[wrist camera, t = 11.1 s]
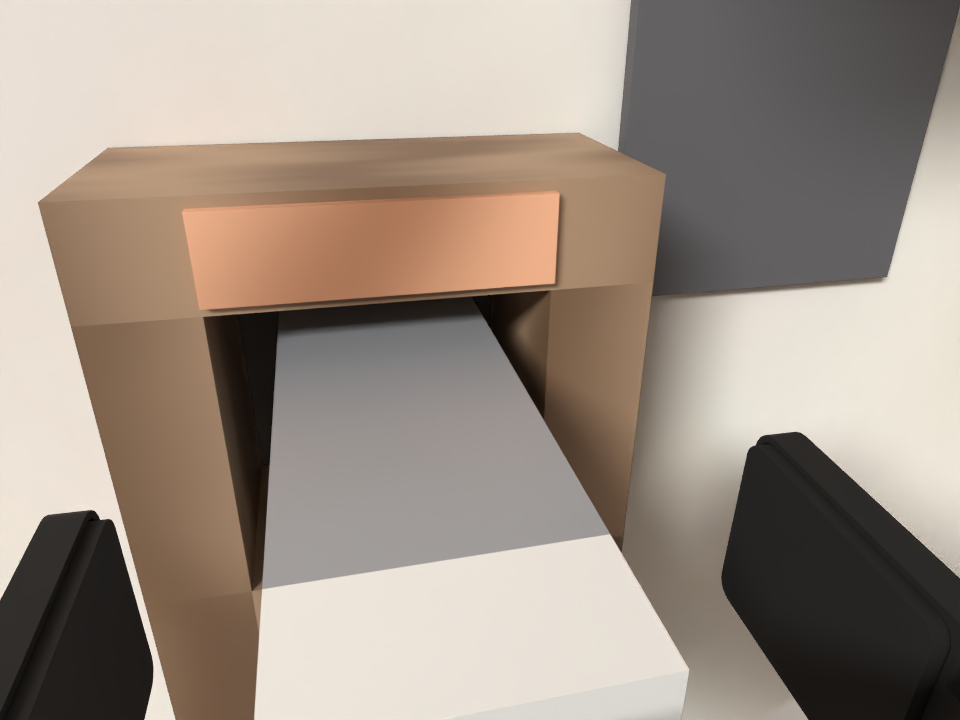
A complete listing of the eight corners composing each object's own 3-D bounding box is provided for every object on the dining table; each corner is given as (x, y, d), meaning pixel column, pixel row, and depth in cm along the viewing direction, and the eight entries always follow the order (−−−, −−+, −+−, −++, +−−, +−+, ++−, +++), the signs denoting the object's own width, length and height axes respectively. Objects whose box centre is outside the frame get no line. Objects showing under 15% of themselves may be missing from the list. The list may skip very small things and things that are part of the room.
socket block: (579, 133, 17) (671, 177, 12) (541, 722, 25) (588, 861, 21) (108, 148, 15) (34, 205, 11) (245, 782, 23) (233, 947, 19)
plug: (453, 265, 17) (690, 670, 7) (456, 410, 19) (648, 906, 9) (280, 279, 17) (251, 758, 6) (301, 428, 18) (305, 996, 8)
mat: (963, -60, 17) (977, -62, 16) (876, 272, 20) (887, 276, 20) (637, -69, 15) (645, -71, 15) (605, 293, 19) (611, 299, 18)
